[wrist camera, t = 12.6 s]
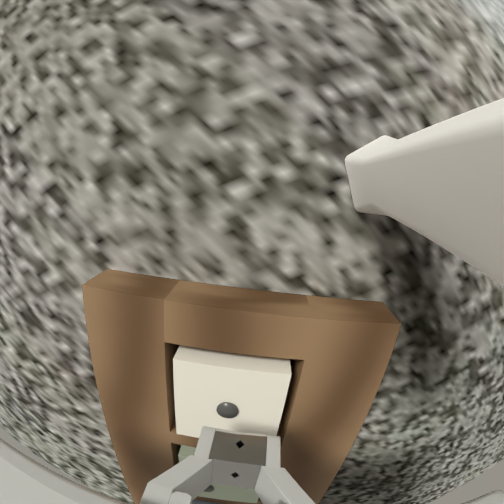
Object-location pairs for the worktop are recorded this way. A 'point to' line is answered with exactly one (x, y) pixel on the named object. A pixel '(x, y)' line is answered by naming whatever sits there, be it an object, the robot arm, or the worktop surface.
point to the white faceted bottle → (441, 184)
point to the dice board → (242, 342)
